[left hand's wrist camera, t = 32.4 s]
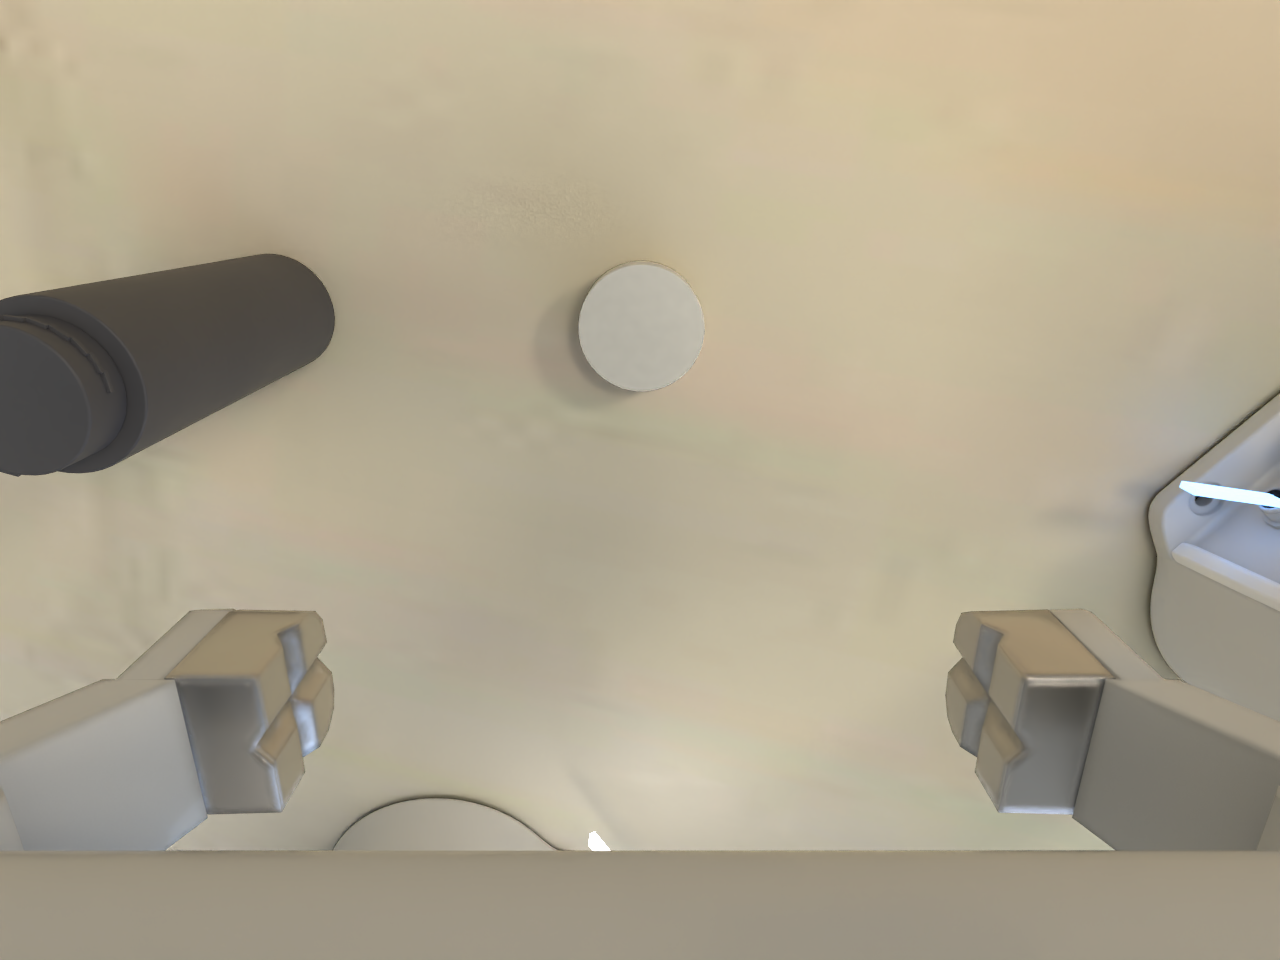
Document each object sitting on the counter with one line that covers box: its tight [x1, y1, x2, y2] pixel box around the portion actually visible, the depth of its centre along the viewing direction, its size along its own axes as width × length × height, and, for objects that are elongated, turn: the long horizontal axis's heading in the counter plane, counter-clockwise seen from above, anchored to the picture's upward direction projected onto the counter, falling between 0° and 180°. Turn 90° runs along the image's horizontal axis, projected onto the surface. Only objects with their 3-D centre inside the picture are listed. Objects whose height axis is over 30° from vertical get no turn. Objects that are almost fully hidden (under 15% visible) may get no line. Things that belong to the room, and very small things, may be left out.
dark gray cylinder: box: [0, 254, 334, 477], centre depth 28 cm, size 5×5×16 cm
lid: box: [578, 261, 705, 391], centre depth 35 cm, size 6×6×2 cm
